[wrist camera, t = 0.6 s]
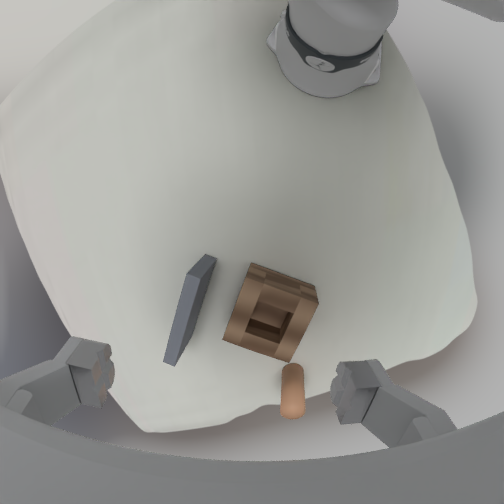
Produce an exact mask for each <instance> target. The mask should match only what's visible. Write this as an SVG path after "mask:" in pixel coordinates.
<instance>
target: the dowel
mask: <svg viewBox="0 0 504 504" xmlns="http://www.w3.org/2000/svg"><path fill="white" fill-rule="evenodd" d="M280 413H281V415H282V416H283V417H285V418H287V419H298V418H300V417H302V416H303V415H304V414H305V392H304V373H303V368H302V367H301V366H300V365H298V364H288V365H286V366H285V367H284V368H283V370H282V387H281V407H280Z"/></svg>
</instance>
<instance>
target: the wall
mask: <svg viewBox="0 0 504 504" xmlns="http://www.w3.org/2000/svg"><path fill="white" fill-rule="evenodd" d="M216 259H217V258H214V257H211V256H209V255H206V254H205V255H204V256H203V257H202V258H201V259H200V260H199V261H198V262H197V263H196V264H195V265H194V266H193V268H192V269H191V270H190V271H189V272H188V273H187V274H186V278H185V281H184V285H183V288H182V292H181V296H180V299H179V303H178V306H177V310H176V314H175V317H174V321H173V325H172V329H171V333H170V336H169V340H168V344H167V348H166V352H165V356H164V360H163V362H165V363H167V364H170V365H172V366H174V367H175V365H176V363H177V362H178V360H179V358H180V356H181V354H182V353H183V351H184V349H185V347H186V346H187V344H188V342H189V340H190V339H191V337H192V334H193V331H194V328H195V324H196V321H197V318H198V315H199V312H200V308H201V305H202V302H203V299H204V296H205V293H206V290H207V287H208V283H209V280H210V277H211V274H212V271H213V268H214V265H215V262H216Z"/></svg>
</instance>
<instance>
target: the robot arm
mask: <svg viewBox="0 0 504 504" xmlns="http://www.w3.org/2000/svg"><path fill="white" fill-rule="evenodd" d="M443 1H445V2H448V3H451V4H453V5H456V6H459V7H461V8H464V9H466V10H468V11H471V12H474V13H476V14H478V15H481V16H483V17H486V18H488V19H490V20H493V21H496V22H504V0H443ZM397 10H398V0H289V1H288V6H287V9H286V10H283V12H282V13H281V16H280V17H281V20H280V21H279V22H278V23H277V25H276V26H275V28H274V29H273V30H272V32H271V33H270V34H269V36H268V37H267V45H268V47H269V48H270V49H271V50H272V51H273V52H274V53H275V54H276V56H277V58H278V61H279V64H280V67H281V69H282V71H283V73H284V75H285V76H286V77H287V79H288V80H289V81H290V82H291V83H292V84H293V85H294V86H296V87H297V88H299V89H300V90H302V91H304V92H306V93H308V94H311V95H314V96H318V97H326V98H332V97H339V96H343V95H346V94H348V93H350V92H352V91H354V90H355V89H357V88H359V87H361V86H367V85H373V84H376V83H377V82H378V81H379V79H380V67H381V49H382V39H383V33H384V32H385V31H386V29H387V28H388V26H389V25H390V24H391V22H392V21H393V20H394V18H395V16H396V13H397ZM374 71H375V72H374ZM111 354H112V352H111V347H110V345H109V344H106V343H102V342H97V341H92V340H88V339H83V338H78V337H74V336H73V337H70V338H69V340H68V341H67V342H66V343H65V345H64V346H63V347H62V349H61V350H60V351H59V353H58V354H57V355H56V357H55V358H54V359H53V361H52V360H47V361H45V362H43V363H40V364H38V365H35V366H33V367H30V368H28V369H26V370H23V371H21V372H18V373H16V374H13V375H11V376H8V377H6V378H4V379H1V380H0V504H504V412H502V413H499V414H497V415H495V416H492V417H490V418H487V419H485V420H482V421H480V422H477V423H475V424H472V425H469V426H466V427H464V428H461V429H457V428H456V427H455V425H454V424H453V422H452V421H451V419H450V418H449V416H448V415H447V413H446V412H445V411H444V410H442V409H441V408H439V407H437V406H435V405H433V404H431V403H430V402H428V401H426V400H424V399H422V398H420V397H419V396H417V395H415V394H413V393H411V392H410V391H408V390H406V389H404V388H402V387H401V386H399V385H394V384H393V382H392V381H391V379H390V377H389V376H388V374H387V373H386V371H385V369H384V368H383V366H382V365H381V363H380V362H379V361H378V360H377V359H374V360H365V361H346V362H339V364H338V365H337V368H336V372H337V374H338V375H337V376H336V377H335V378H334V379H333V380H332V383H331V388H330V395H331V400H332V403H333V404H334V405H336V406H337V410H336V414H337V416H338V419H339V422H340V424H351V423H361V424H362V425H363V426H365V427H366V428H367V429H368V430H369V431H371V432H372V433H373V434H374V435H375V436H376V437H377V438H379V439H380V440H381V441H382V442H383V443H385V444H386V445H387V446H388V447H389V448H388V449H383V450H378V451H372V452H367V453H360V454H354V455H346V456H339V457H330V458H320V459H308V460H293V461H228V460H211V459H200V458H190V457H181V456H174V455H166V454H160V453H154V452H148V451H142V450H137V449H132V448H127V447H123V446H118V445H113V444H109V443H105V442H102V441H97V440H94V439H90V438H87V437H83V436H80V435H76V434H73V433H70V432H67V431H64V430H61V429H58V428H55V427H52V426H51V425H53V424H54V423H55V422H57V421H58V420H60V419H61V418H62V417H64V416H65V415H67V414H68V413H70V412H71V411H72V410H74V409H75V408H77V407H78V406H79V405H81V404H85V405H89V406H94V407H98V408H102V407H103V404H104V402H105V400H106V397H107V392H106V390H108V389H109V388H111V386H112V384H113V381H114V375H115V369H114V363H113V362H112V361H111V360H110V356H111ZM80 403H81V404H80Z"/></svg>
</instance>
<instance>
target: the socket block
mask: <svg viewBox="0 0 504 504" xmlns="http://www.w3.org/2000/svg"><path fill="white" fill-rule="evenodd" d="M318 304H319V303H318V298H317V294H316V290H315V286H313V285H310V284H307V283H305V282H302V281H299V280H297V279H294V278H291V277H288V276H286V275H283V274H280V273H278V272H275V271H272V270H270V269H267V268H264V267H261V266H259V265H256V264H253V263H251V264H250V267H249V270H248V272H247V275H246V277H245V280H244V283H243V285H242V288H241V291H240V293H239V296H238V299H237V302H236V304H235V307H234V310H233V312H232V315H231V318H230V320H229V323H228V326H227V328H226V331H225V334H224V336H223V339H222V340H224V341H227V342H230V343H232V344H235V345H238V346H241V347H244V348H246V349H249V350H252V351H255V352H258V353H261V354H264V355H267V356H270V357H273V358H276V359H279V360H282V361H285V362H288V363H289V362H290V360H291V358H292V356H293V354H294V352H295V351H296V349H297V347H298V345H299V343H300V341H301V339H302V337H303V335H304V333H305V331H306V329H307V327H308V325H309V323H310V321H311V319H312V317H313V315H314V313H315V311H316V308H317V306H318Z"/></svg>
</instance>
